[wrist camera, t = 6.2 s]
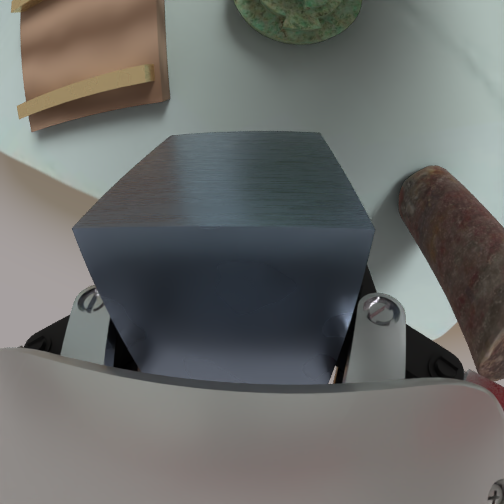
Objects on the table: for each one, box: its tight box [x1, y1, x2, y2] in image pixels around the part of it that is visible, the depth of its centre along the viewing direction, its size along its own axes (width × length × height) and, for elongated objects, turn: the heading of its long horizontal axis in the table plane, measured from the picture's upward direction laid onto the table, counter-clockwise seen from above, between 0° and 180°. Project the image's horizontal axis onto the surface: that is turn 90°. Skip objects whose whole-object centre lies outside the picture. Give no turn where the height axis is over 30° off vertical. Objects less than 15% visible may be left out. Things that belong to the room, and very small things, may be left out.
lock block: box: [72, 131, 375, 385], centre depth 9 cm, size 8×5×6 cm, turn 2°
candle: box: [398, 165, 504, 382], centre depth 18 cm, size 8×7×20 cm
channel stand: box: [11, 0, 170, 132], centre depth 16 cm, size 18×16×4 cm
